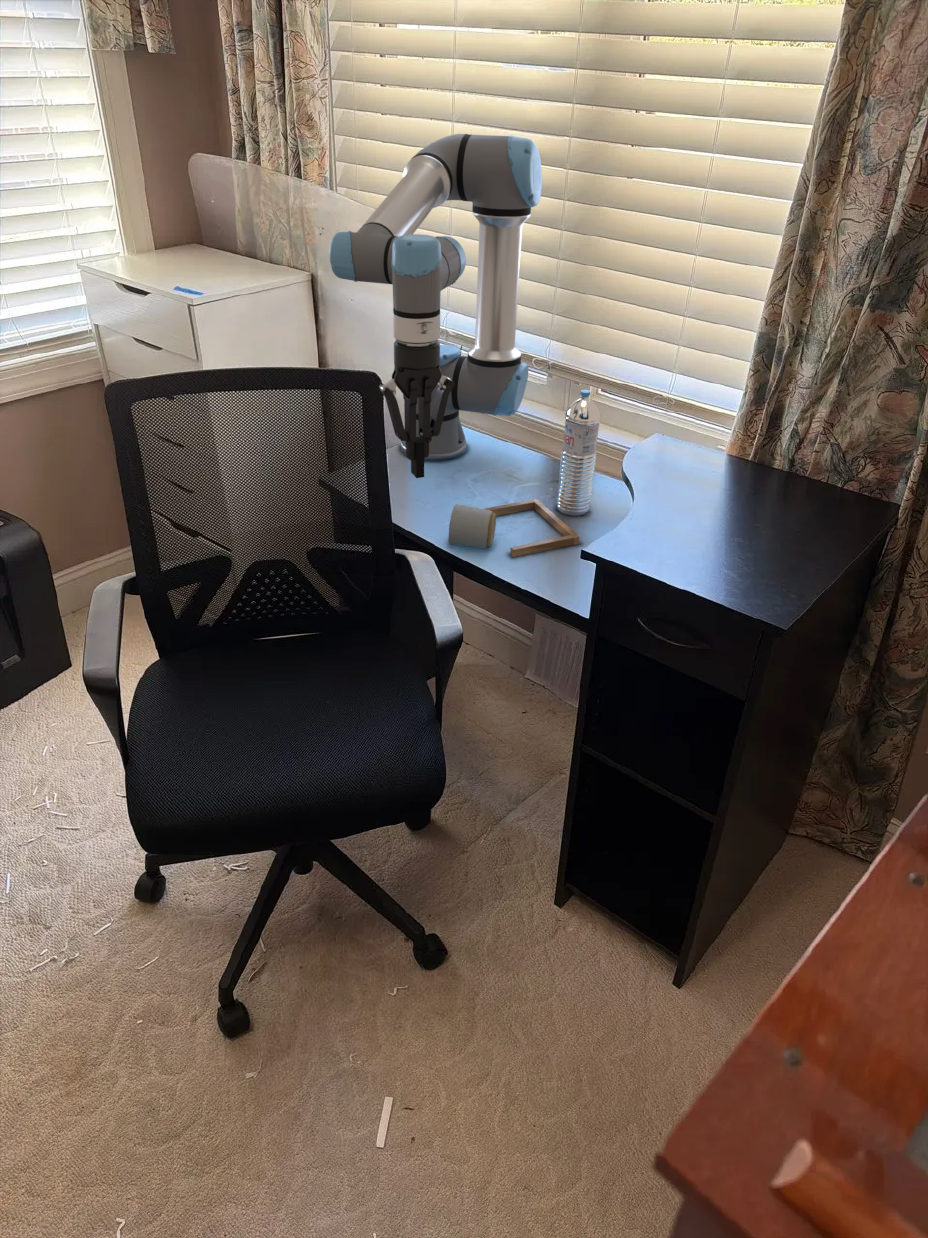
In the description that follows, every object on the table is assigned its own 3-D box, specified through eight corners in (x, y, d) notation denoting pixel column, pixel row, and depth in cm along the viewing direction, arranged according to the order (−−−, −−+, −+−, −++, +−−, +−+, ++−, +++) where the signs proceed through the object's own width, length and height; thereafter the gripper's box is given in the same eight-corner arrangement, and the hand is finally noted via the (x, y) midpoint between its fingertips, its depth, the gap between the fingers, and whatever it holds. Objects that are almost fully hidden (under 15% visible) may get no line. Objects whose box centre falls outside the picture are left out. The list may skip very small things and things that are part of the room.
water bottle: (555, 501, 179) (566, 384, 165) (588, 502, 178) (602, 385, 164) (556, 516, 173) (568, 396, 159) (590, 517, 173) (605, 398, 159)
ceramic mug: (490, 555, 159) (492, 518, 155) (447, 551, 160) (448, 514, 156) (498, 530, 168) (500, 494, 163) (457, 526, 169) (458, 490, 165)
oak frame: (474, 517, 172) (474, 510, 171) (536, 505, 177) (537, 498, 176) (512, 557, 159) (513, 549, 158) (578, 543, 164) (579, 536, 163)
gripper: (386, 350, 133) (390, 488, 146) (463, 342, 137) (459, 477, 150) (371, 337, 138) (375, 471, 152) (444, 330, 143) (443, 461, 156)
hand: (417, 474), depth 151 cm, fingers closed
